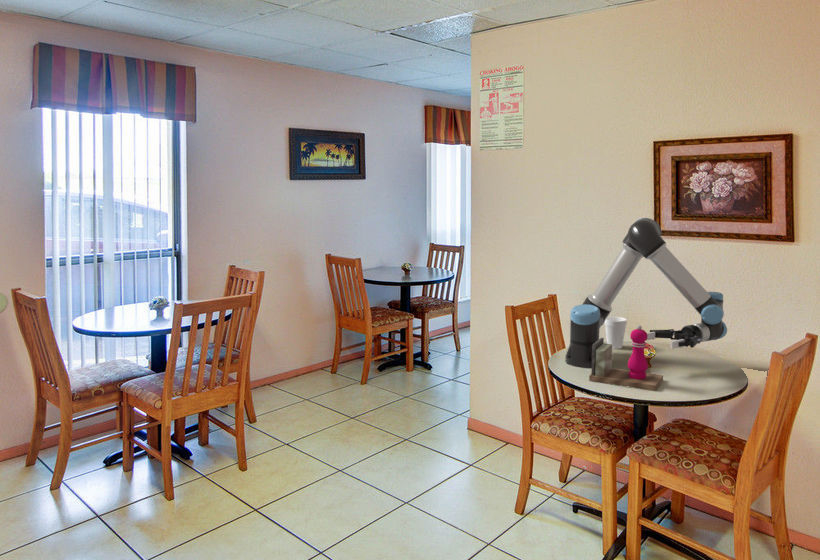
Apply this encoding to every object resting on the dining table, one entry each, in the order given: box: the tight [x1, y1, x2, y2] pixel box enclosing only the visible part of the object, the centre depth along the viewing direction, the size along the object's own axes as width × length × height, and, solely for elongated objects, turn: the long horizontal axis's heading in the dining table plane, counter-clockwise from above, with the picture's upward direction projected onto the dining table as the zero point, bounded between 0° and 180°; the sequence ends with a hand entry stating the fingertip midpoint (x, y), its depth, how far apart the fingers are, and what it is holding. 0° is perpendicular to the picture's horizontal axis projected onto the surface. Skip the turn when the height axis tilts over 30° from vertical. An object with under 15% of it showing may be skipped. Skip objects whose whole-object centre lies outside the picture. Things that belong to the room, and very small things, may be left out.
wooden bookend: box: [588, 337, 664, 392], centre depth 240 cm, size 24×14×14 cm, turn 58°
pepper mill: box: [627, 324, 649, 379], centre depth 237 cm, size 7×7×20 cm
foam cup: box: [604, 316, 628, 350], centre depth 287 cm, size 10×9×13 cm
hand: (656, 341), depth 241 cm, fingers open, 13 cm apart
